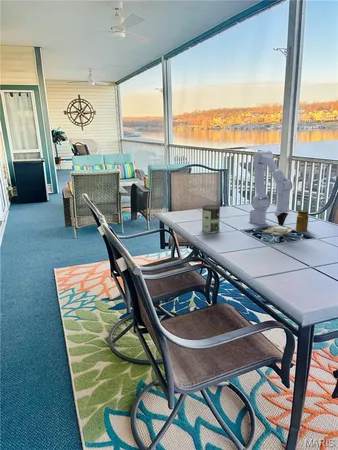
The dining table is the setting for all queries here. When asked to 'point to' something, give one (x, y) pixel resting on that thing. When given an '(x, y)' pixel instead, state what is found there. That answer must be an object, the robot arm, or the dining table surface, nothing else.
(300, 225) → the condiment
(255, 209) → the robot arm
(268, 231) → the mat
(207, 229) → the coffee can
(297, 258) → the dining table surface
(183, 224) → the dining table surface
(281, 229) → the block
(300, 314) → the dining table surface
